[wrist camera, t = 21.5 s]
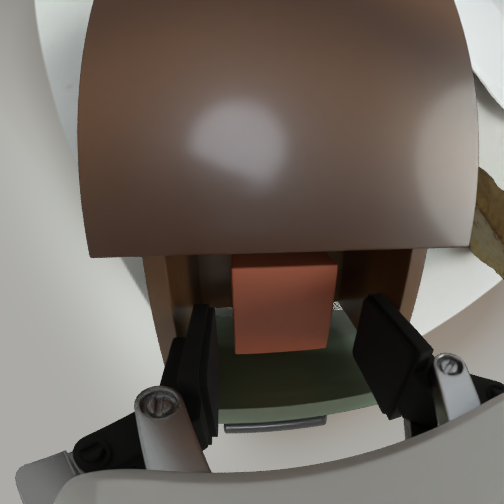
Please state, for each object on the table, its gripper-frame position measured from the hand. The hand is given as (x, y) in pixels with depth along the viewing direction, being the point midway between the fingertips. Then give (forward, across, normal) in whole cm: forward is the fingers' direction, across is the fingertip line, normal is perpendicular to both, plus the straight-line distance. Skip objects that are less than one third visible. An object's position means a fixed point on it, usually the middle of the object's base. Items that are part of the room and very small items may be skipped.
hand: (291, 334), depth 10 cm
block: (+6, 0, 0) cm, 6 cm away
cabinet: (+8, 0, -11) cm, 14 cm away
